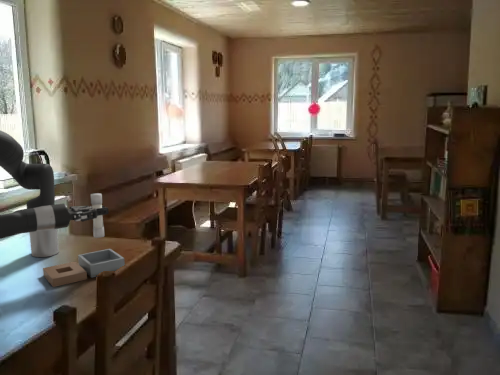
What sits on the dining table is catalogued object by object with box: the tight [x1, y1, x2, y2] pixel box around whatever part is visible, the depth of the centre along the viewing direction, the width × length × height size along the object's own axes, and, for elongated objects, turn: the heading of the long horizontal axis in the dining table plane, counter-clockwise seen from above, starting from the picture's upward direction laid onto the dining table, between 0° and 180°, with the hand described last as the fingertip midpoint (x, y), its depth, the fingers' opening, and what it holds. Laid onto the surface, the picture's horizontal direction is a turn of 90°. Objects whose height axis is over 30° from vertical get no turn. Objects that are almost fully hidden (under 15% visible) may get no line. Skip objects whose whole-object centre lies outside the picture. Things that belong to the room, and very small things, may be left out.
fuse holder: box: [42, 261, 88, 288], centre depth 145 cm, size 12×10×2 cm
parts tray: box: [77, 248, 126, 278], centre depth 153 cm, size 13×11×4 cm
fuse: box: [90, 192, 105, 239], centre depth 150 cm, size 3×3×14 cm
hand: (105, 209), depth 151 cm, fingers closed on fuse, 3 cm apart
